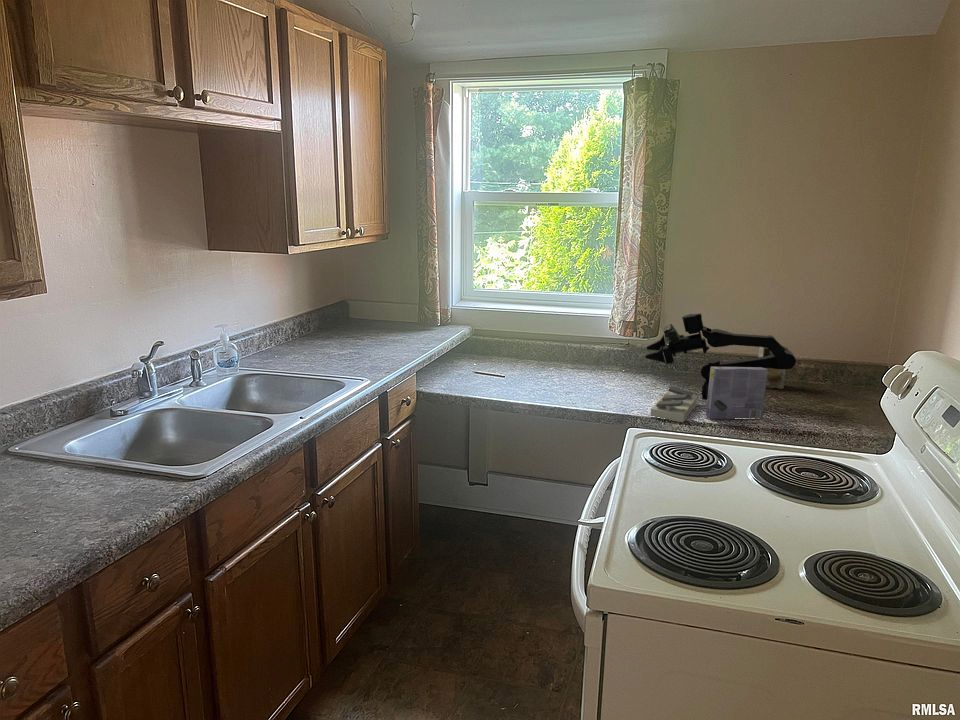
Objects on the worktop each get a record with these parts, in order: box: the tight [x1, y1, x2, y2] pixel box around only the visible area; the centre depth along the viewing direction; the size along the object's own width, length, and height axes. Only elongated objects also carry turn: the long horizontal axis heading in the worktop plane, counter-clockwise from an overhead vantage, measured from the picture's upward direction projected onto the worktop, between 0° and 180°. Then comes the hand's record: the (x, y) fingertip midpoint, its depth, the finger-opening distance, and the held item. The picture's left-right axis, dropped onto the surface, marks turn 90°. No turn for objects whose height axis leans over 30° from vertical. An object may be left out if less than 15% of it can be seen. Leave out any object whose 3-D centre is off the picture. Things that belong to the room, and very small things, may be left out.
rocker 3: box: [667, 385, 694, 398], centre depth 247 cm, size 8×4×1 cm, turn 62°
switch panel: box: [649, 391, 698, 423], centre depth 240 cm, size 11×23×4 cm, turn 152°
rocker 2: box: [655, 400, 683, 407], centre depth 233 cm, size 8×4×1 cm, turn 62°
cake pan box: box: [705, 367, 768, 420], centre depth 231 cm, size 19×5×18 cm, turn 92°
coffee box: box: [758, 345, 789, 390], centre depth 269 cm, size 9×6×16 cm
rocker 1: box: [661, 394, 688, 401], centre depth 240 cm, size 8×4×1 cm, turn 62°
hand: (646, 352), depth 260 cm, fingers open, 9 cm apart
